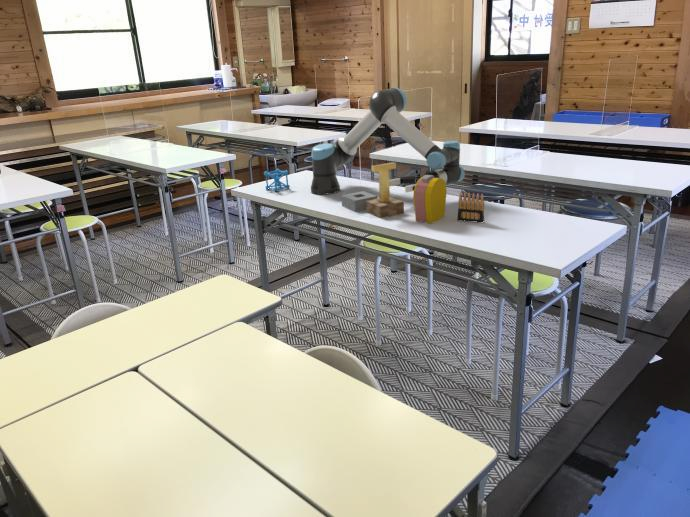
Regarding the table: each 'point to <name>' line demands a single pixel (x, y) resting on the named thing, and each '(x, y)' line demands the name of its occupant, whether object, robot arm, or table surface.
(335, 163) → the robot arm
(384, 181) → the t key
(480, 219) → the ammunition clip
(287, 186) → the molecular structure
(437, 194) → the alarm clock
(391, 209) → the block
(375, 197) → the block
